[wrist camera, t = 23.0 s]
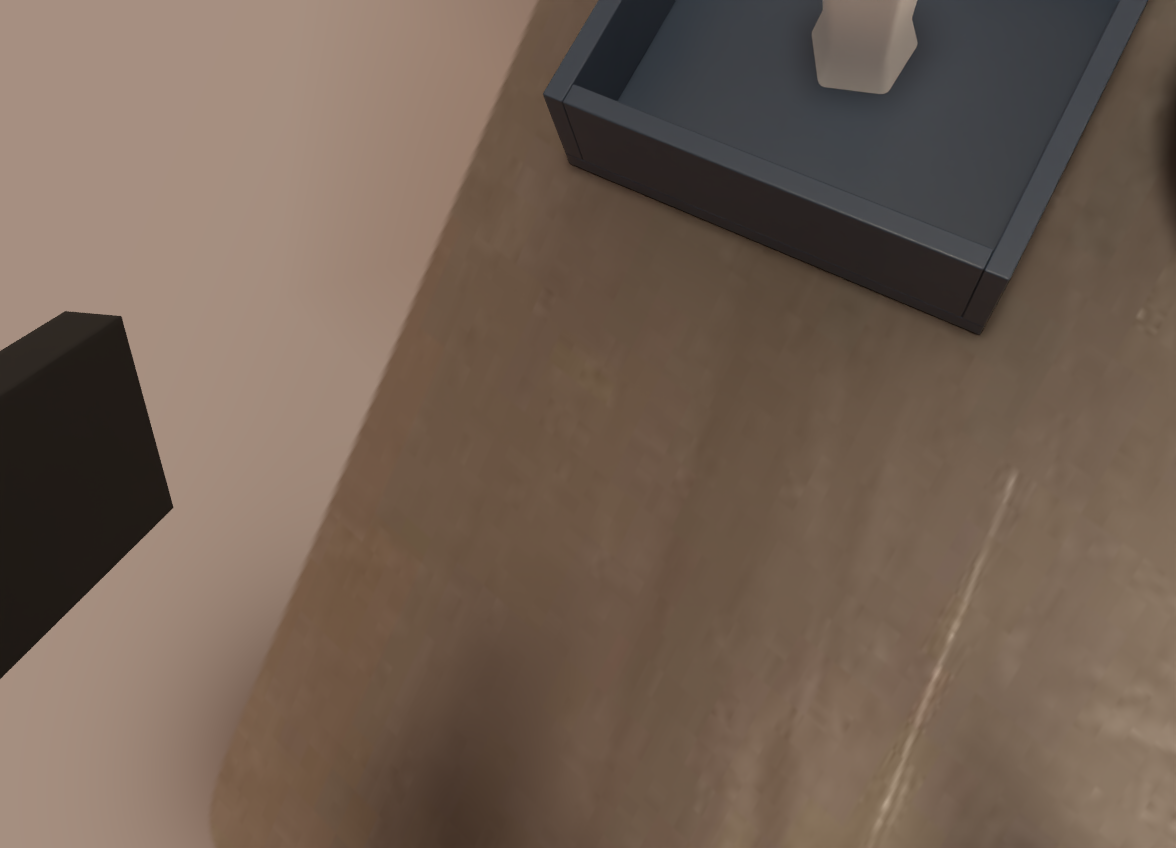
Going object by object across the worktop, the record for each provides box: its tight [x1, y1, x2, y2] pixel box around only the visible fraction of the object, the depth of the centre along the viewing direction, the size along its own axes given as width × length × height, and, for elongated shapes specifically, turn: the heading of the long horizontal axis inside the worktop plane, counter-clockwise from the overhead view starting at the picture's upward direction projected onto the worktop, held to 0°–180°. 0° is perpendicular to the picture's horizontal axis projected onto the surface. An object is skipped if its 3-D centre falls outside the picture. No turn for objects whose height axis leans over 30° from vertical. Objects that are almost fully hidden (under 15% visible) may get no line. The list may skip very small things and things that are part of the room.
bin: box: [543, 0, 1148, 335], centre depth 37 cm, size 17×17×5 cm
